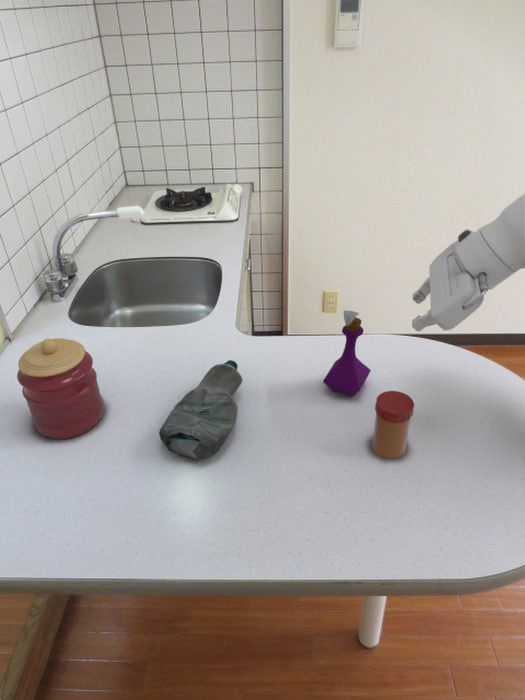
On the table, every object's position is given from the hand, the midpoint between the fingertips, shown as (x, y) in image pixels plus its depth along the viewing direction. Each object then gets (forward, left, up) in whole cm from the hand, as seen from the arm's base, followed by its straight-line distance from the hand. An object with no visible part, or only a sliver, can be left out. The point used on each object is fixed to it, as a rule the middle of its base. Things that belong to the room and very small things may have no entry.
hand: (414, 312), depth 91 cm
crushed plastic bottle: (+37, +2, -20) cm, 42 cm away
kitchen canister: (+64, -1, -20) cm, 67 cm away
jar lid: (+6, +13, -10) cm, 17 cm away
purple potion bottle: (+10, -4, -20) cm, 22 cm away
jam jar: (+6, +13, -19) cm, 24 cm away
